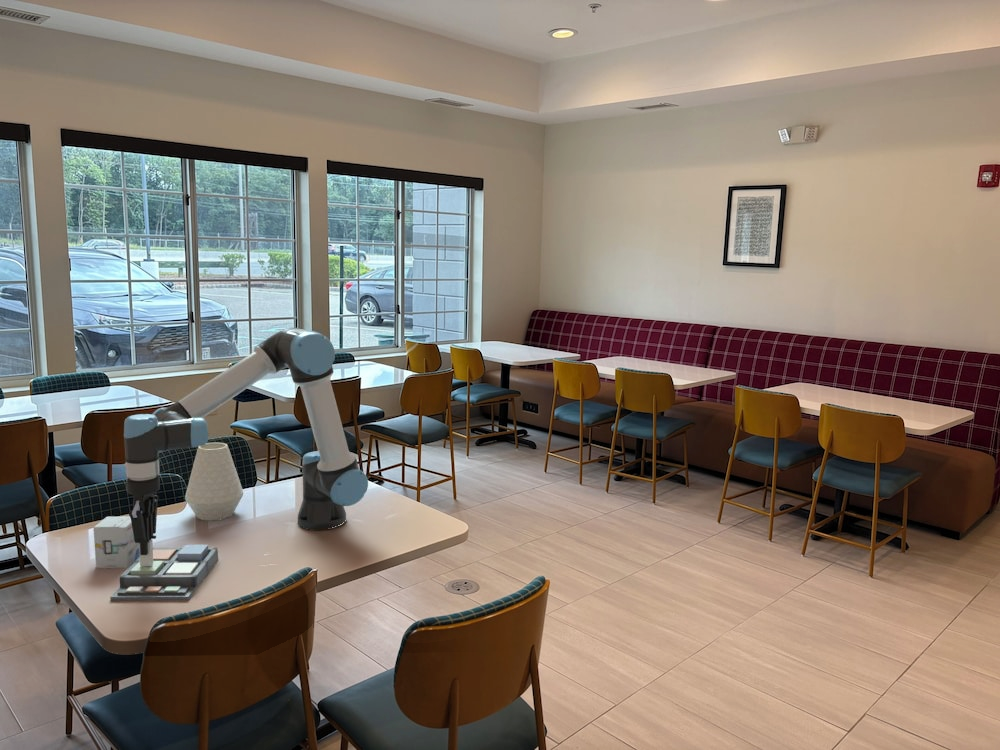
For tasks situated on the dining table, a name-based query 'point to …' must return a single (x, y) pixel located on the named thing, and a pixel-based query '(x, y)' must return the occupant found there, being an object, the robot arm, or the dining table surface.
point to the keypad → (164, 581)
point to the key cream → (182, 569)
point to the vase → (213, 483)
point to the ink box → (115, 543)
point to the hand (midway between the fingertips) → (146, 564)
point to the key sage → (148, 568)
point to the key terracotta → (163, 555)
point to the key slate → (193, 553)
